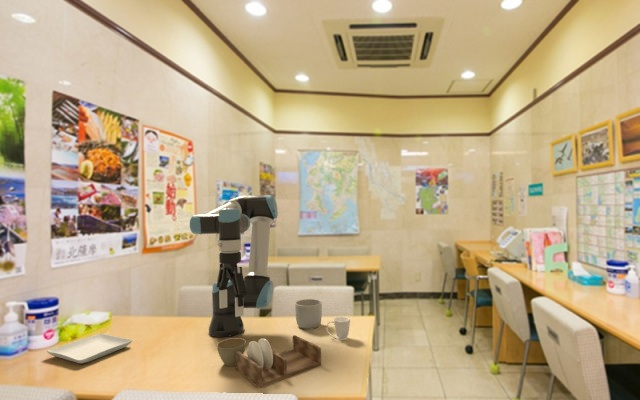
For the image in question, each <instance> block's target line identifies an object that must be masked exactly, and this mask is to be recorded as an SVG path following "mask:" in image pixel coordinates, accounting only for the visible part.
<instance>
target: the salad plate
mask: <svg viewBox="0 0 640 400" xmlns="http://www.w3.org/2000/svg"><path fill="white" fill-rule="evenodd" d="M132 342H133V339H130V338H125V337H120V336H115V335H110V334H106V333H98V334H94V335H92V336H88V337H85V338H81V339H77V340H76V341H72V342H68V343H66V344H63V345H60V346H57V347H54V348H53V347H52V348H51V349H50V348H49V349H48V350H47V351H46V352H47V354H49V355H51V356H53V357H56V358H60V359H63V360H67V361H71V362H74V363H77V364H86V363H89V362H93V361H94V360H97V359H100V358H102V357H105V356H107V355H109V354H112V353H115V352H118V351H120V350H122V349H124V348H126V347H127V346H130V345H131V343H132Z"/></svg>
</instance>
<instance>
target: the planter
mask: <svg viewBox="0 0 640 400" xmlns="http://www.w3.org/2000/svg"><path fill="white" fill-rule="evenodd" d="M322 306H323V302H322V300H320V299H315V298H307V299H306V298H305V299H300V300H297V301H295V302H294V307H295V310H294V311H295V320H296V324H297V326H298V327H299V328H301V329H305V330H311V329H316V328H317V327H319V326H320V325H321V324H322V315H323V314H322V313H323V311H322V310H323V307H322Z"/></svg>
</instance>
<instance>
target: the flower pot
mask: <svg viewBox="0 0 640 400" xmlns="http://www.w3.org/2000/svg"><path fill="white" fill-rule="evenodd" d="M246 344H247V341H246V339H244V338H241V337H234V338H233V337H232V338H226V339H223V340H221V341H219V342H218V343H217V344H216V347H217V351H218V352H217V353H218V356H219V358H220V360H221V362H222V363H223V364H224V365H225V366H226V367H235V366H236V352H238V351H239V352H241V353H242V354H244V355H245V350H246Z"/></svg>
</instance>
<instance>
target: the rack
mask: <svg viewBox="0 0 640 400" xmlns="http://www.w3.org/2000/svg"><path fill="white" fill-rule="evenodd" d="M321 350H322V347H321V346H319V345H316V344H315V343H312V342H310V341H308V340H306V339H304V338H302V337H299V336H297V335H292V349H289V350H286V351H283V352H280V353H277V352H275V351H274V350H273V349H272V352H273V365H272V367H271V369H269V370H264V369H262V367H261V366H260V365H258V364H257V363H255V362H254V361H252V360H251V359H249V358H248V355H245V353H244V354H242V353H241V352H239V351H238V352H236V365H235V366H236V371H237V372H239V373H240V374H241V375H242V376H244V377H245V378H246V379H247V380H248V381H250V382H251V383H252V384H253V385H255V386H256V387H257V388H262V387H265V386H268V385H270V384H273V383H276V382H279V381H281V380H284V379H287V378H290V377H293V376H295V375H298V374H301V373H304V372H306V371H309V370H311V369H314V368H317V367H320V366H322V351H321Z"/></svg>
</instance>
